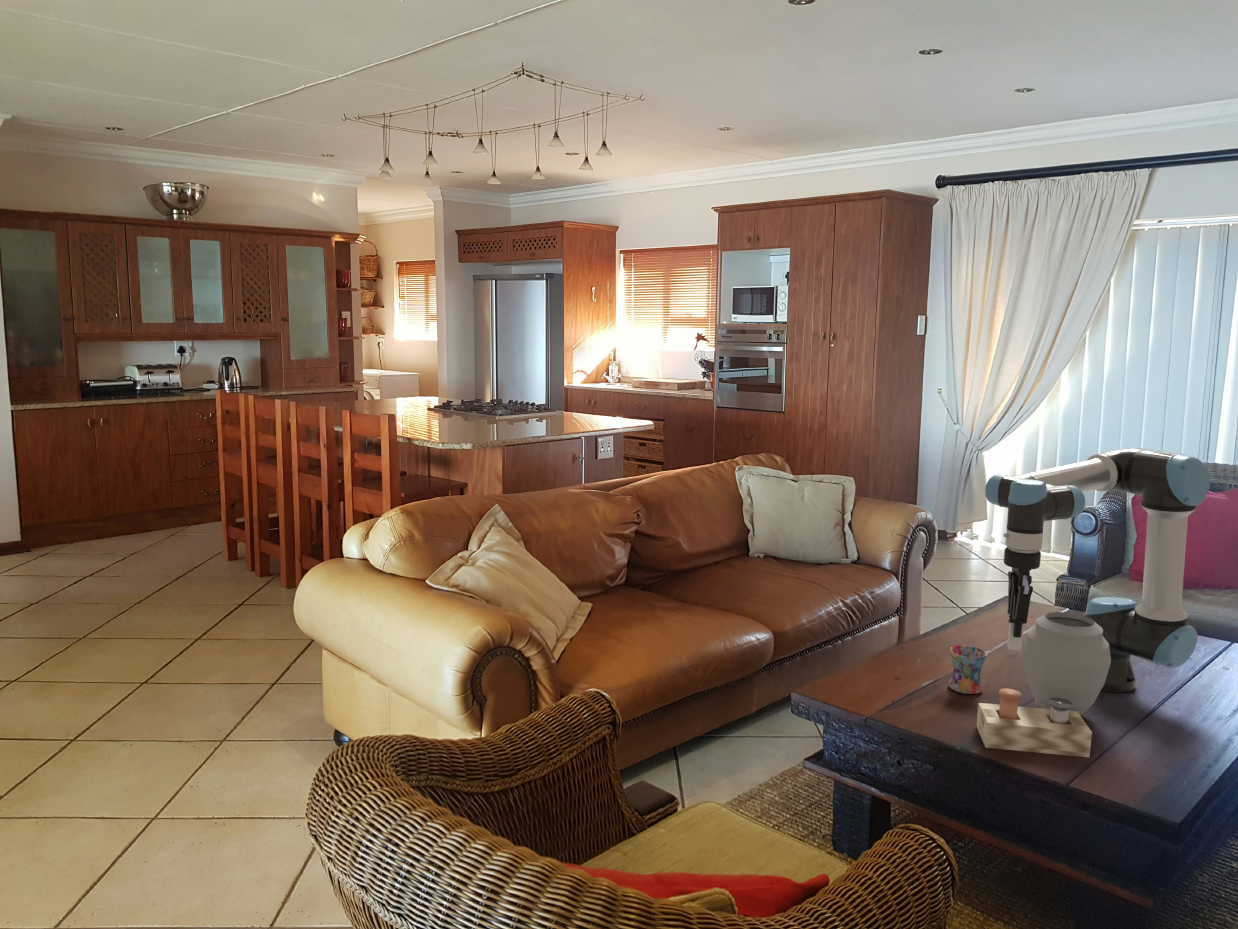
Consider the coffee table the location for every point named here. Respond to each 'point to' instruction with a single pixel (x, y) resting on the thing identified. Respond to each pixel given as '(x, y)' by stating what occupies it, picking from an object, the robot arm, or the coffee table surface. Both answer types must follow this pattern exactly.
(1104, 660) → the vase
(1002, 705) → the terracotta plug
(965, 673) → the mug
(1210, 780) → the coffee table surface
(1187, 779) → the coffee table surface
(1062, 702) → the grey plug
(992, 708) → the block
